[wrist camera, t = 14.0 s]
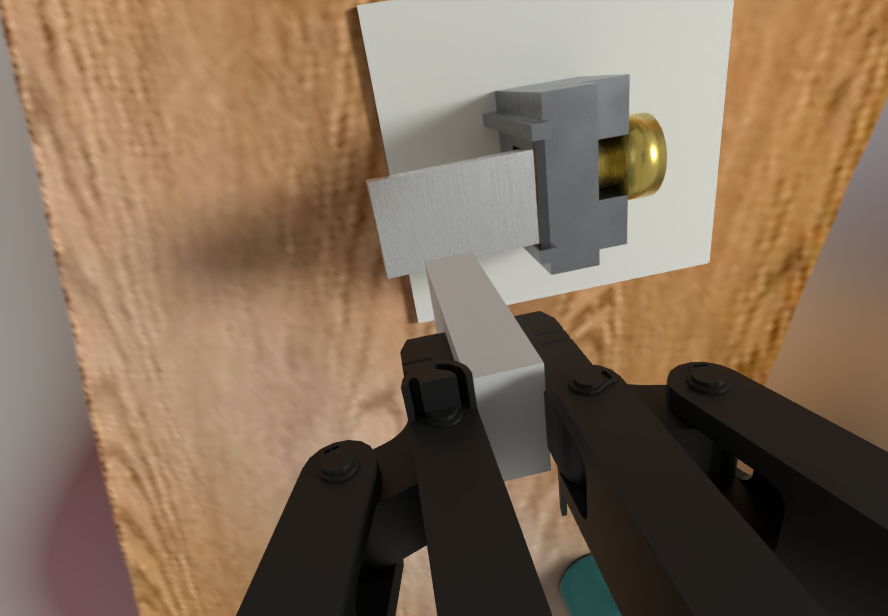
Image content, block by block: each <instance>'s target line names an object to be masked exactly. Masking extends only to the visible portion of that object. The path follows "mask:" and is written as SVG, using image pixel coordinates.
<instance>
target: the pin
mask: <svg viewBox="0 0 888 616" xmlns="http://www.w3.org/2000/svg"><path fill="white" fill-rule="evenodd" d="M598 161H599V188H604V187H609V188H612V189H614V190H617V191H619V192H622V193H624V194H627V195H628V200H633V199H639V198H644V197H649V196H652V195H654V194H655V193H656V192H657V191H658V190H659V188H660V187H661V185H662V183H663V180H664V177H665V173H666V167H667V147H666V141H665V137H664V134H663V131H662V128H661V126H660V124H659V123H658V121H657V120H656V119H655V117H654V116H652V115H651V114H649V113H646V112H642V113H636V114H631V115H629V134H626V135H621V136H615V137H610V138H605V139H599V140H598Z"/></svg>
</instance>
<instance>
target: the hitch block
mask: <svg viewBox="0 0 888 616" xmlns="http://www.w3.org/2000/svg"><path fill="white" fill-rule="evenodd" d="M629 87H630V74H622V75H599V76H579V77H573V78H567V79H561V80H555V81H550V82H544V83H538V84H532V85H526V86H520V87H514V88H509V89H503V90H497V91H495V99H496V110H497V111H496V112H490V113H485V114H483V123H484V126H485V127H488V128H491V129H494V130H497V131H499V141H500V152H501V153H504V152H509V151H514V150H519V149H524V148H529V149H533V158H534V173H535V188H536V203H537V218H538V233H539V243H538V244H534V245H530V246H526V247H523V248H524V249H525V250H526V251H527V252H528V253H529V254H530V255H531V256H532V257H533V258H534V259H535V260H536V261H538V262H539V263H540V264H541V265H542V266H543V267H544V268H545V269H546V270H547V271H548V272H549V273H550V274H551V275H554V274H559V273H564V272H569V271H574V270H579V269H584V268H588V267H593V266H598V265H600V255H599V249H604V248H609V247H614V246H619V245H624V244H627V218H628V195H627V194H624V193H622V192H619V191H617V190H614V189H612V188H609V187H604V188H599V161H598V140H599V139H605V138H610V137H615V136H621V135H626V134H629Z"/></svg>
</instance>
